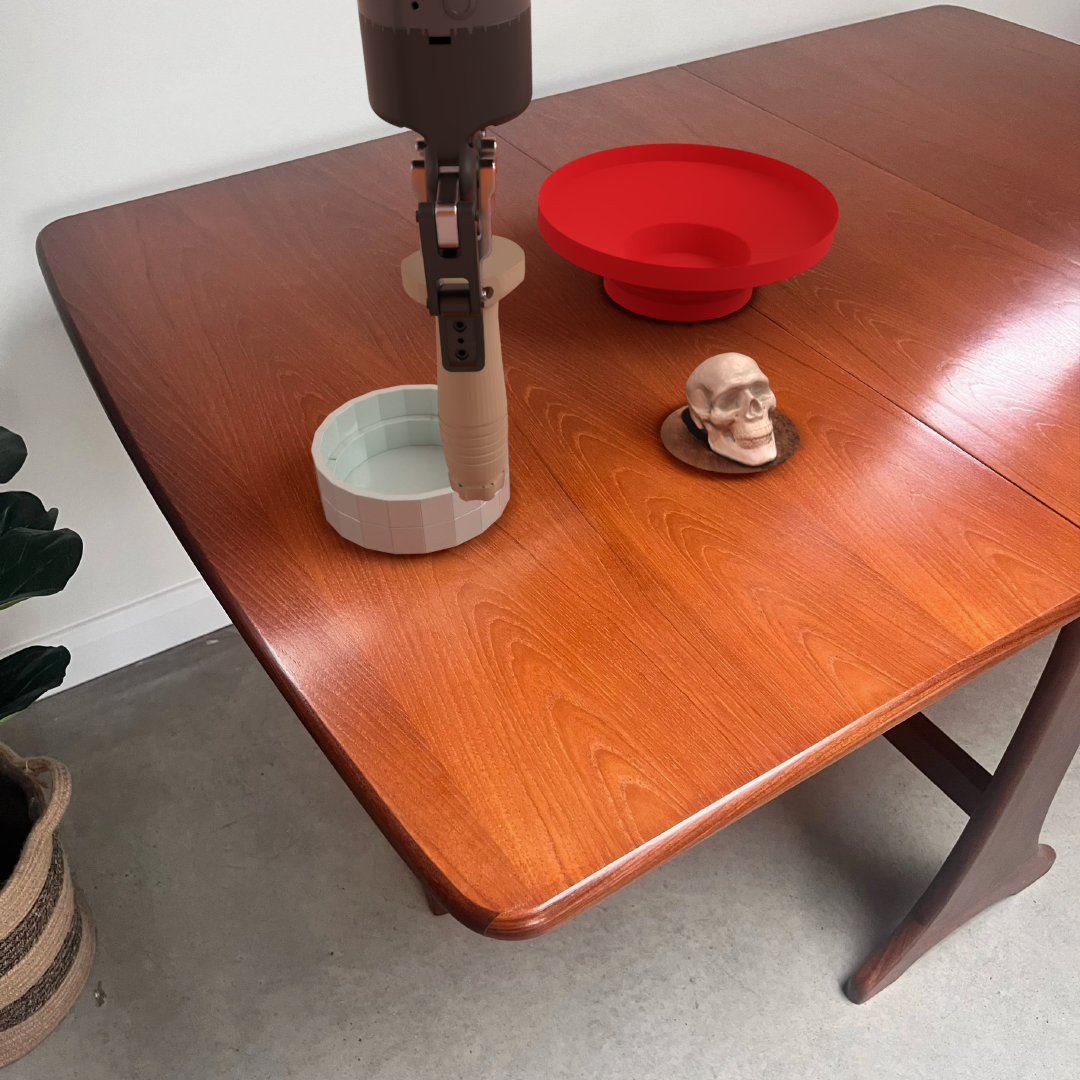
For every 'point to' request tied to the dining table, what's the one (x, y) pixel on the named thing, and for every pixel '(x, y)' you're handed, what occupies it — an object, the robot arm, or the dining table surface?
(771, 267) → the bowl
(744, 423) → the skull
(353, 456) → the mixing bowl
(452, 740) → the dining table surface
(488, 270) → the handle
